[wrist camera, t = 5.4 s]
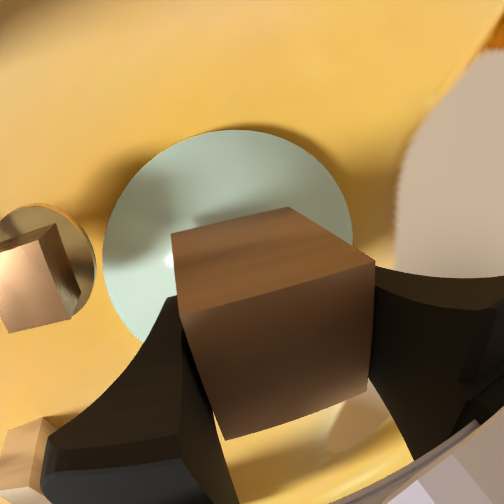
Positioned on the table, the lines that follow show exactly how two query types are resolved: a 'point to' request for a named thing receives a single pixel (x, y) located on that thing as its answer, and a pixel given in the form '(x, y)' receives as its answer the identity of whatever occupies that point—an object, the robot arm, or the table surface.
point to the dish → (206, 208)
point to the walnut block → (274, 317)
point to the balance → (43, 267)
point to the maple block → (24, 462)
